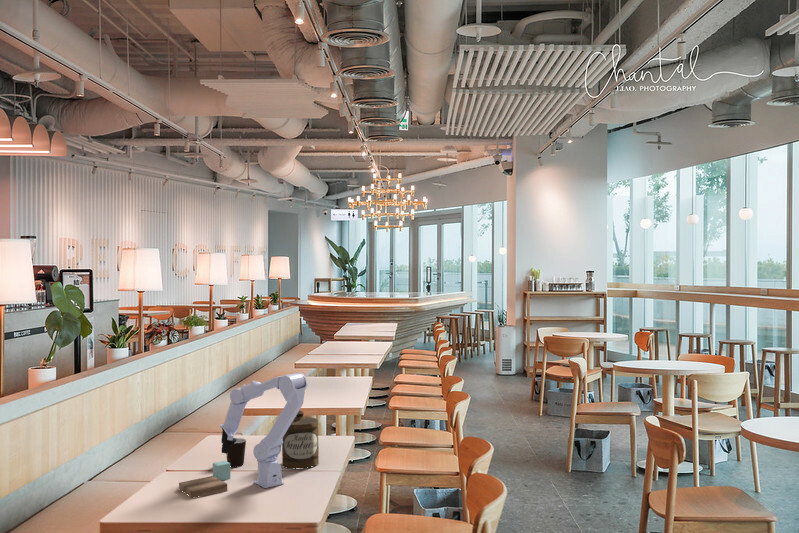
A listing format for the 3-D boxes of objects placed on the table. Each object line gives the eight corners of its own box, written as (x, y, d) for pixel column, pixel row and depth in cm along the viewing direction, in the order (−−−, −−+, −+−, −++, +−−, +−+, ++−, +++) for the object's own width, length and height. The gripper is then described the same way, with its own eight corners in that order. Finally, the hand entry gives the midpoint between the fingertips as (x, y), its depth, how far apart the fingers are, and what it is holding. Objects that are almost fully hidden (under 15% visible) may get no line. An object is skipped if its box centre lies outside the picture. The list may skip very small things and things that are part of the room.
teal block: (230, 478, 260) (230, 463, 260) (218, 481, 257) (217, 465, 257) (225, 476, 264) (224, 460, 264) (212, 478, 261) (212, 463, 261)
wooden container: (284, 471, 269) (283, 415, 270) (280, 461, 284) (280, 408, 284) (321, 467, 273) (320, 413, 274) (315, 458, 288) (315, 406, 288)
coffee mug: (243, 467, 275) (243, 443, 275) (222, 468, 275) (222, 443, 275) (250, 460, 286) (250, 436, 286) (230, 460, 286) (229, 436, 286)
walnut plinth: (227, 490, 246) (227, 483, 246) (192, 498, 238) (192, 491, 238) (213, 482, 256) (213, 475, 256) (179, 489, 248) (179, 482, 248)
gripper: (223, 406, 267) (213, 436, 269) (223, 423, 253) (213, 455, 256) (241, 409, 269) (231, 440, 271) (242, 426, 256) (232, 458, 258)
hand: (224, 447), depth 264 cm, fingers open, 7 cm apart
